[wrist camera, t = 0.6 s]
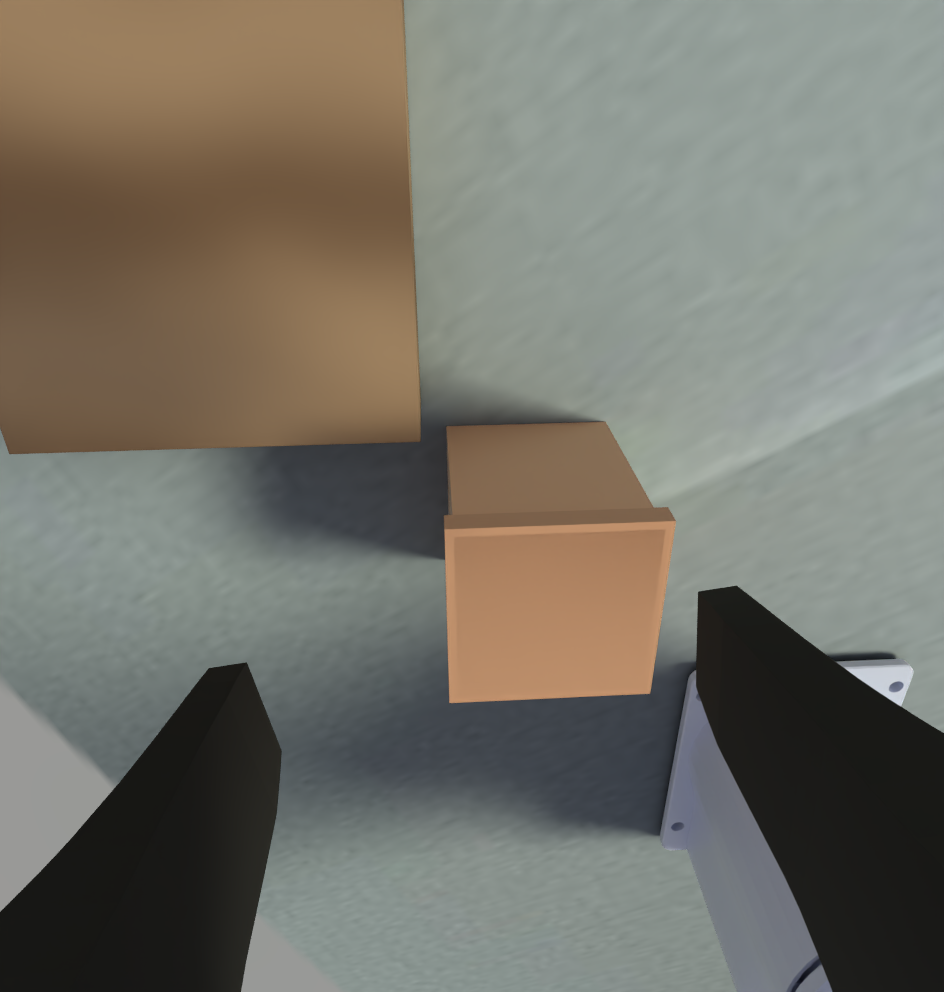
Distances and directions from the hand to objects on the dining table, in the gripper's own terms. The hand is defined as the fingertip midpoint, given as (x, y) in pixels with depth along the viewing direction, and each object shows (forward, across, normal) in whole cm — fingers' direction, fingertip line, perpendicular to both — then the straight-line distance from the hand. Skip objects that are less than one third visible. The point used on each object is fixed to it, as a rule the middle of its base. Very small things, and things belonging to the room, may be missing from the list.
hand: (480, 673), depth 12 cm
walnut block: (+10, +5, -6) cm, 13 cm away
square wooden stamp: (+10, -2, +3) cm, 11 cm away
